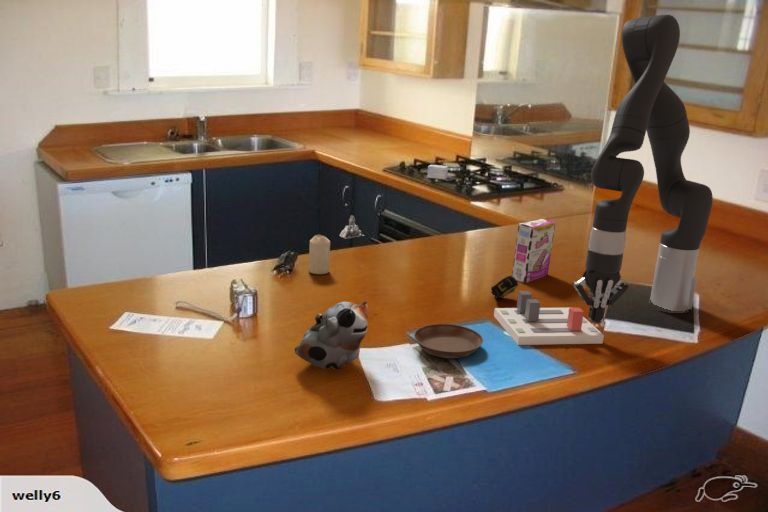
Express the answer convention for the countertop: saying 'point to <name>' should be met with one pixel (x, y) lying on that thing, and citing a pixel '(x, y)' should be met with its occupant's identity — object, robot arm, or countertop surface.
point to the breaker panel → (543, 324)
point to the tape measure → (504, 287)
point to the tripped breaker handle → (575, 318)
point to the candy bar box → (533, 250)
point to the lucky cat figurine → (335, 336)
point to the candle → (319, 255)
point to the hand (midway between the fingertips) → (594, 321)
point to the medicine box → (437, 171)
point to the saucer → (448, 340)
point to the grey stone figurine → (351, 230)
